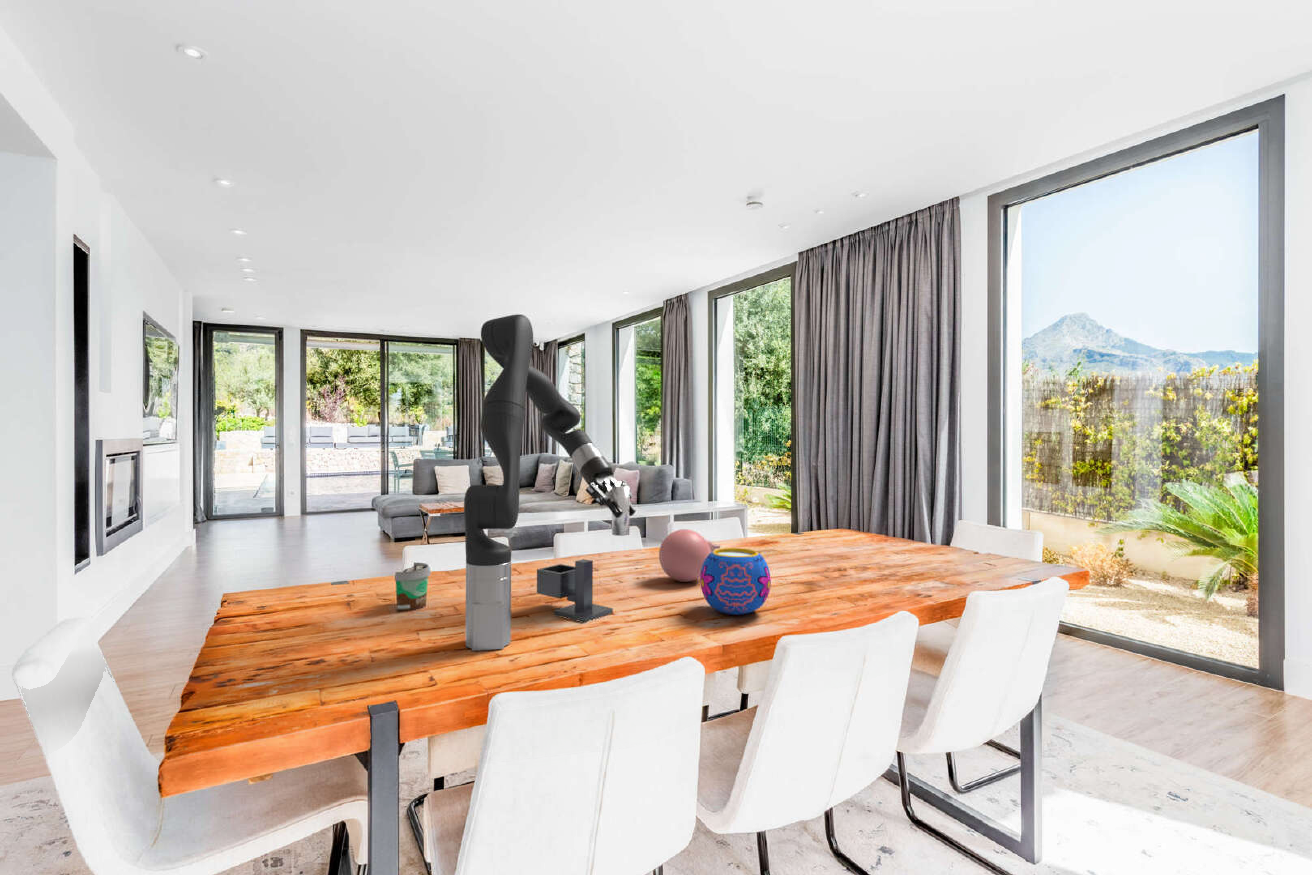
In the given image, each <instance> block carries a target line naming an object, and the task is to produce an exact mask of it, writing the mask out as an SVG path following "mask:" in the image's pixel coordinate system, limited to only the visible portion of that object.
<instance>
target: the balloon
mask: <svg viewBox="0 0 1312 875" xmlns="http://www.w3.org/2000/svg"><path fill="white" fill-rule="evenodd" d="M659 547H660V548H659V551H658V560H659V563H660V566H661V569H662V571H663V572H664V574H666V575H667V576H668V577H669V578H671V579H672V580H674V581H677V582H680V583H681V582H683V583H689V582H693V581H696V580H698V579H700V574H701V569H702V565H703V563H704V561H705V559H706V558H707V556H708V555H709V554H710V553H711V552H713V551H714V550H717V549H721V545H720V544H718V543H717V544H716V543H713V541H711V540H707V539H705V537H703V536H702V535H701V534H700V533H699V532H697V531H694V530H692V529H677V530H675V531H673V532H671V533H669V534H668V535H667V536H666V537H665V538H664V540H663V541H662V543H661V545H660V546H659Z"/></svg>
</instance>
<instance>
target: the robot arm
mask: <svg viewBox="0 0 1312 875" xmlns="http://www.w3.org/2000/svg"><path fill="white" fill-rule="evenodd" d="M480 338H481V343H482V345H483V348H484V349H485V352H487V353H488V355H489V356H490V357H491V358H492V359H493V361H495V362H496V363H497V364H498V366H500V367H501V368H502V370H501V372H500V373H499V375H498V377H497V378H496V379H495V381H494V382H492V385H491V387H490V388H489V390H488V391H487V393H486V394H485V396H484V398H483V403H482V410H481V418H480V430H481V433H482V436H483V438H484V440H485V441H486V443H487V445H488V446H489V448H490V449H491V451H492V453H493V455H494V456H495V459H496V460H497V462H498V464H499V466H500V469H501V472H502V477H503V482H502V484H473V485H470V486H468V488H467V489H466V492H465V494H464V500H463V501H464V502H463V516H464V534H465V536H464V537H465V543H464V544H465V646H466V647H467V648H469V649H471V651H473V652H474V651H477V652H478V651H489V650H490V651H491V650H503V649H504V647H506V646H508V645H509V644H511V642H512V549H511V547H510V546H508V545H506V544H505V543H501V542H499V541H496V540H494V539H492V538H491V537H489V536H488V535H487V534H486V533H485V530H510V529H512V528H515V526H516V524H517V521H518V519H519V518H518V517H519V513H520V510H519V509H520V472H521V471H520V468H521V466H520V465H521V453H522V451H521V450H522V443H523V435H524V434H523V432H524V425H525V413H526V408H525V407H526V395H527V396H528V398H530V400H531V402H532V403H533V405H534V406H535V408H536V409H537V410H538V411H539V412H540V413H541V414H545V415H544V416H543V417H542V418H541V424H540V425H541V427H542V430H543V431H544V432H545V433H546V434H547V436H549V437H550V438H551V439H553V440H555V441H556V442H557V444H559V445H560V446H561V447H562V448H563V450H565V452H566V453H567V454H568V456H569V457H570V459H571V461H572V463H573V464H574V466H575V468H576V469H577V471H578V473H579V474H580V475H581V477H582V478H583V480H584V481H585V483H586V484H587V485H588V486H587V487H586V489H585V491H586V493H587V494H588V495H589V496H590V497H591V498H592V499H593V500H594V501H595V502H596V503H597V505H599V506H601V507H603V506H605V507H606V508H608V510H610V512H611V514H612V513H613V515H614V516H615V517H616V518H619V517H620V516H621V515H622V514H623V511H622V510H621V509H620V507H619V506H618V504H617V503H616V501H615V502H614V498H613V496H612V493H613V492H612V486H629V485H628V483H627V481H626V480H624V479H623V480H622V481H618V479H617V478H615V476H614V474H613V471H614V470H613V468H612V466H611V464H610V463H609V462H608V461H607V459H606V458H605V456H604V455H603V453H602V452H601V451H600V449H599V448H597V446H596V445H595V444H594V443H593V441H592V440H591V438H590V437H589V436H588V434H587V433H586V432H585V431H584V430H583V429H574V428H575V427H577V425H579V423H580V421H581V414H580V412H579V410H578V408H577V407H575V405H573V404H572V403H570V402H569V401H568V400H567V399H565V398H564V397H563V396H562V395H561V394H560V392H559V391H558V389H557V387H556V386H555V385H554V383H553V381H552V379H551V378H550V377H549V376H547V374H545V373H544V372H543V371H541V370H540V369H538V368H536V367H534V366H533V365H531V364H530V363H531V357H532V351H533V348H534V347H533V345H534V329H533V326H532V323H531V321H530V319H529V318H528V317H527V316H526V315H524V314H511V315H506V316H501V317H497V318H493V319H489V320H487V321H485V322H484V323H483V324H482V326H481V329H480ZM572 429H574V430H572ZM570 430H572V431H570ZM633 497H634V496H633V494H632V492H631V490H630V500H631V499H632V498H633ZM635 513H636V508H635V506H634V505H633V504H632V502H631V501H630V517H632V516H634V514H635Z"/></svg>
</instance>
